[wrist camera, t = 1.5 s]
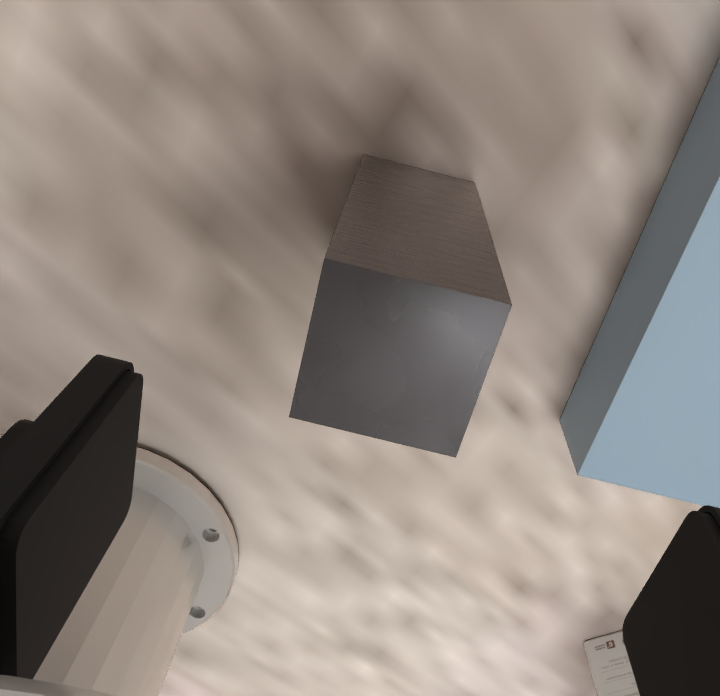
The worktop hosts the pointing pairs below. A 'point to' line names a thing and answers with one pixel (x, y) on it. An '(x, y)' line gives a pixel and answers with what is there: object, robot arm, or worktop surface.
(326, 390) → the square peg
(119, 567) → the robot arm
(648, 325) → the bore block
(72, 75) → the worktop surface
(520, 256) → the worktop surface
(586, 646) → the supplement box
